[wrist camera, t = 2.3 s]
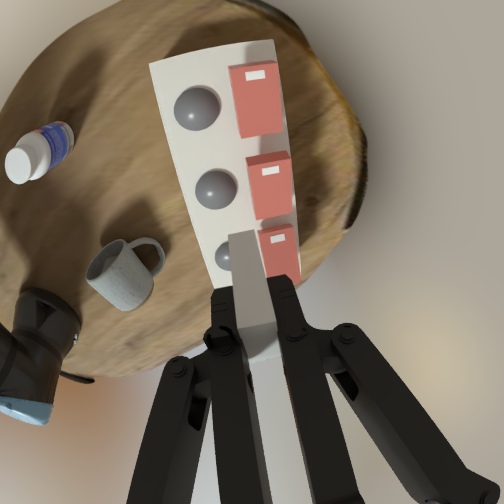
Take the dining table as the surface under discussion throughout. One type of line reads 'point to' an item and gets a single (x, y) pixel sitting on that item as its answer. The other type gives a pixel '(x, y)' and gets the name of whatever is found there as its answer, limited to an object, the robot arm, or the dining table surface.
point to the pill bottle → (39, 152)
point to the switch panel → (216, 147)
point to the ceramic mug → (123, 274)
